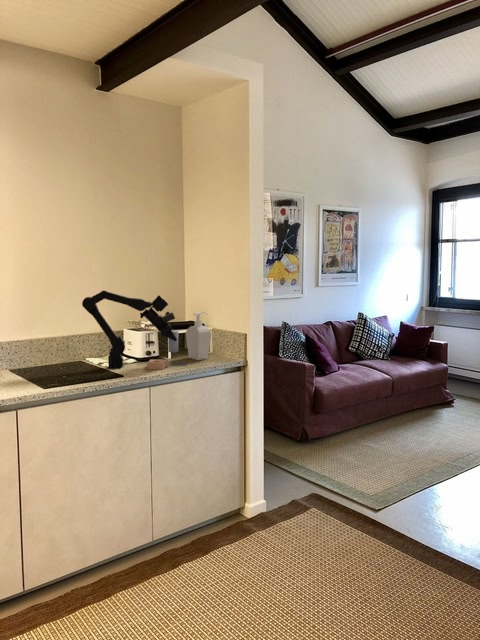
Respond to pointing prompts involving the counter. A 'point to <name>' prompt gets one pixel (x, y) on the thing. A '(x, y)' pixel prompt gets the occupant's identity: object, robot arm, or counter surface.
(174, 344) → the grey domed cylinder
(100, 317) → the robot arm
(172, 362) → the mat
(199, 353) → the soap bottle
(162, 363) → the salmon flat square slab
